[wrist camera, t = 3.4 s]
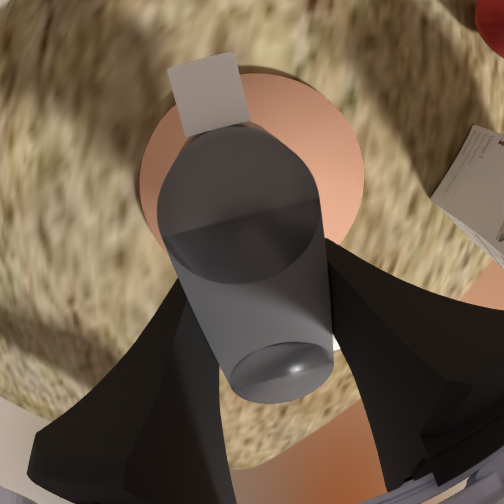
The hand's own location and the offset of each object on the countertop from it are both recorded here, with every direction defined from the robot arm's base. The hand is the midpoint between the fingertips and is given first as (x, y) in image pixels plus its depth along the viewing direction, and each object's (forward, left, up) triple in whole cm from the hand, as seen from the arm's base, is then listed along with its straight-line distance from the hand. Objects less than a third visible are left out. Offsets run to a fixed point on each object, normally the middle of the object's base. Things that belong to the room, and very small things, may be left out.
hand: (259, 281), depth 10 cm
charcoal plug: (0, 0, -2) cm, 2 cm away
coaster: (0, -1, -9) cm, 9 cm away
